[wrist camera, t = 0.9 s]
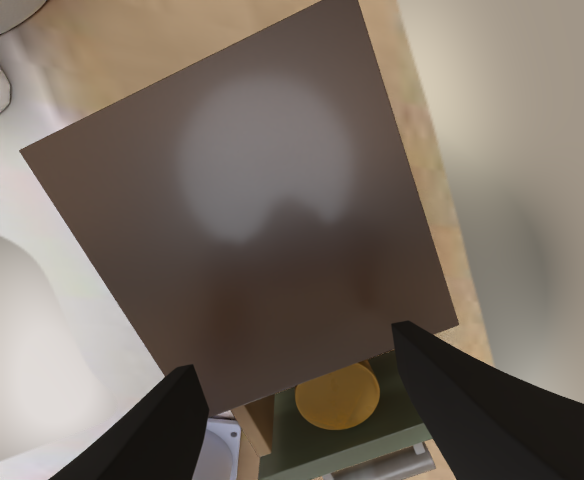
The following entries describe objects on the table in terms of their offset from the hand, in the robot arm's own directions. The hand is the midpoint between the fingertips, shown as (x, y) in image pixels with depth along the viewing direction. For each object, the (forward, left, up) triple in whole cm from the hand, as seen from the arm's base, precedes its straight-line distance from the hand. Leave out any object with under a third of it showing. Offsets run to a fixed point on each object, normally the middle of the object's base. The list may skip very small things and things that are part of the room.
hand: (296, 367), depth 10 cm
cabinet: (+4, +2, -10) cm, 10 cm away
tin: (-4, -3, -8) cm, 9 cm away
